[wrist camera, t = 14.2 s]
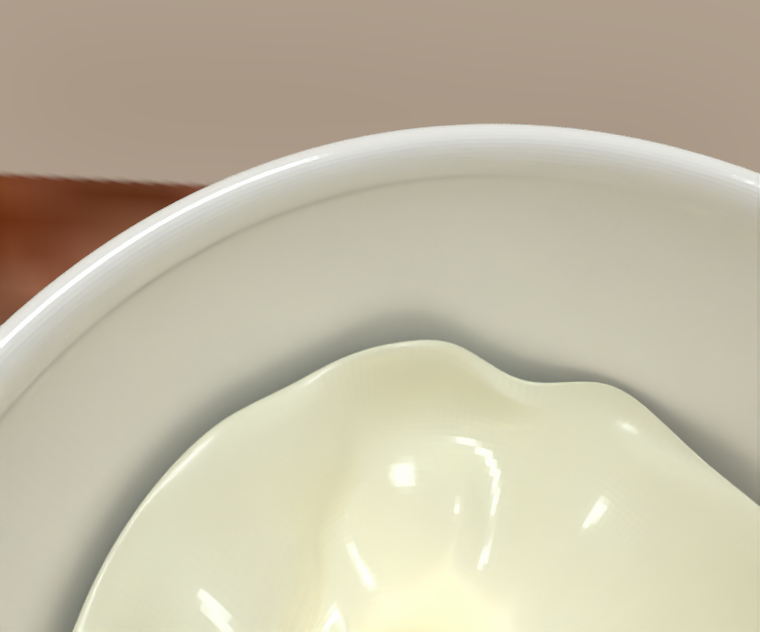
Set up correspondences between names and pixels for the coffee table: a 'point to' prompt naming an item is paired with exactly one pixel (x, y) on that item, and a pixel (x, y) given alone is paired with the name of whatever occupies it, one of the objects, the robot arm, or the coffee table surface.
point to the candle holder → (399, 398)
